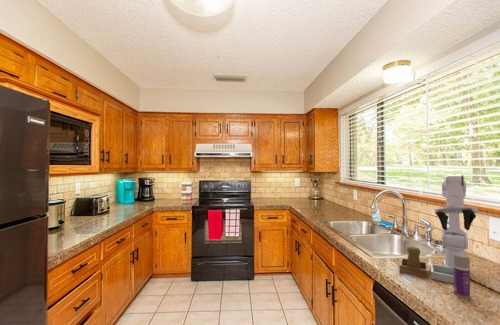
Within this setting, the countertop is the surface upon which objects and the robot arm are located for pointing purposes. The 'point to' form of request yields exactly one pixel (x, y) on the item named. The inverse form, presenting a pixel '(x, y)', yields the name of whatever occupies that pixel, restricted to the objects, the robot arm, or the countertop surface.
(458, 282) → the container
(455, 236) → the robot arm
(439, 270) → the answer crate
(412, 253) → the olive rounded piece
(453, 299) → the countertop surface
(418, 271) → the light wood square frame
